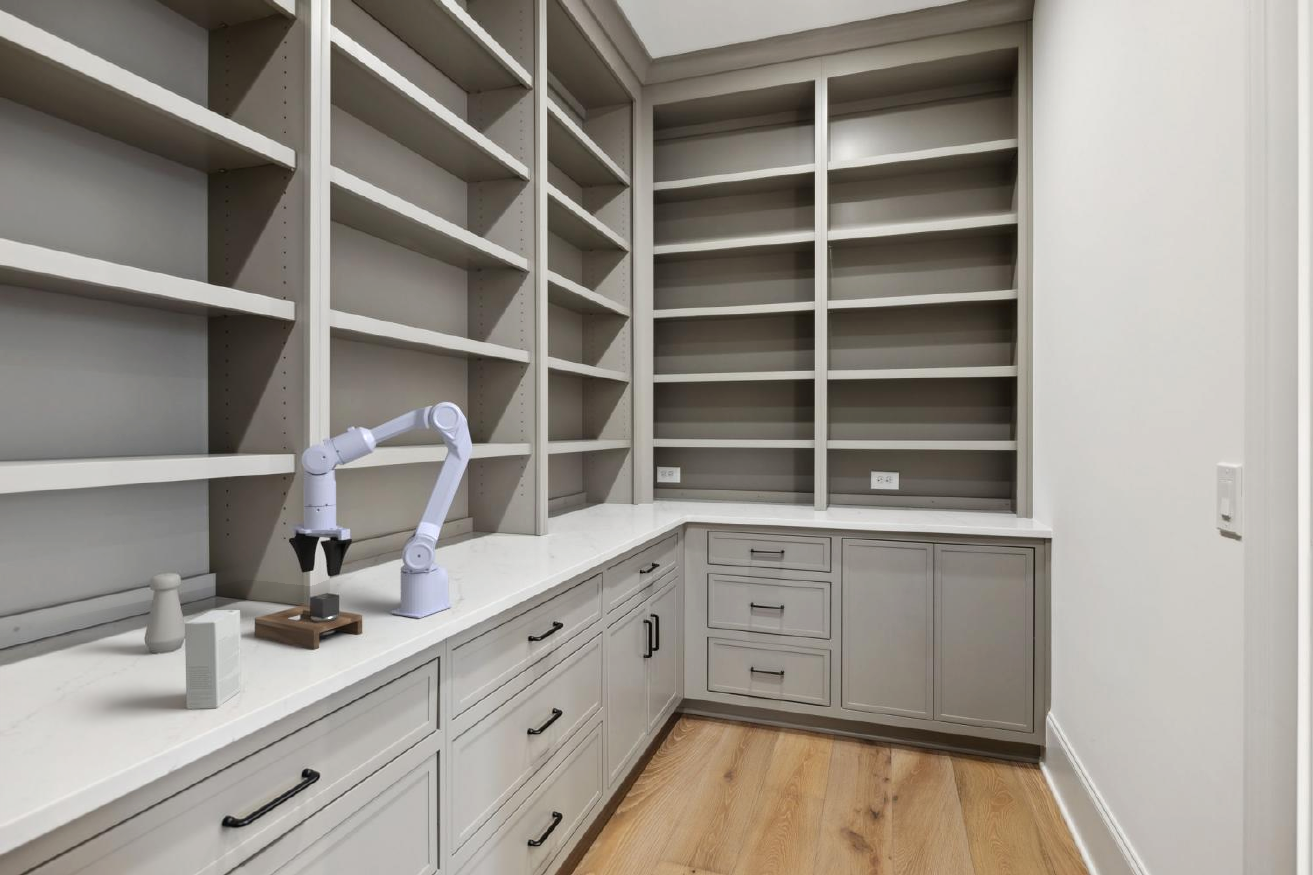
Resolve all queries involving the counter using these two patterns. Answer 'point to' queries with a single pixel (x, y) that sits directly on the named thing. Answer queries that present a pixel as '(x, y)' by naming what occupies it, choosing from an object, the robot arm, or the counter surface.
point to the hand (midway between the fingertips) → (320, 573)
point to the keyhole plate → (303, 626)
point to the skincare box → (212, 658)
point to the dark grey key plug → (324, 609)
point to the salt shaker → (165, 615)
